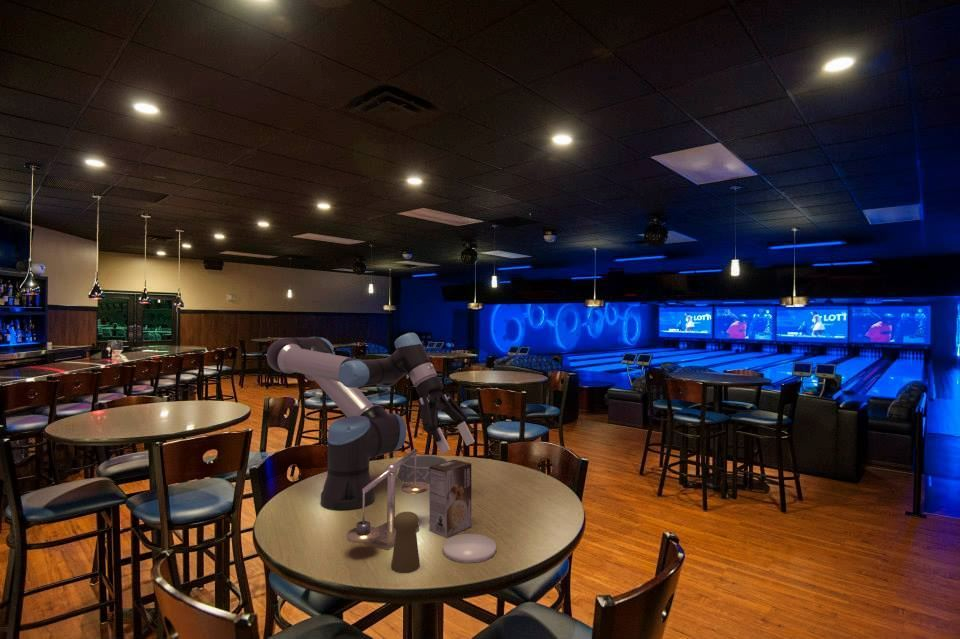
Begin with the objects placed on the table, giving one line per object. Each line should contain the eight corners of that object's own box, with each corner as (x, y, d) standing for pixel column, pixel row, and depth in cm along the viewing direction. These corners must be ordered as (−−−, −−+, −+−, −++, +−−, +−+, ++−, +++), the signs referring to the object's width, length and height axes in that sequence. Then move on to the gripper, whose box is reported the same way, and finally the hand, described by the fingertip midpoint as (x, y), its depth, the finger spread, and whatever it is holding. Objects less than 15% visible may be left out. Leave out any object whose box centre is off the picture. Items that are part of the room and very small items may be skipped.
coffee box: (453, 520, 129) (454, 458, 129) (472, 526, 125) (472, 463, 125) (428, 531, 122) (428, 465, 122) (446, 538, 118) (447, 470, 118)
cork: (398, 557, 108) (399, 507, 108) (424, 561, 106) (425, 510, 106) (385, 570, 102) (386, 517, 102) (412, 575, 100) (413, 520, 100)
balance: (338, 554, 109) (339, 468, 109) (410, 515, 132) (411, 443, 132) (366, 563, 105) (367, 473, 105) (435, 521, 128) (436, 447, 129)
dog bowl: (460, 474, 171) (460, 458, 171) (427, 488, 155) (427, 471, 155) (421, 466, 180) (421, 451, 180) (386, 479, 164) (387, 462, 164)
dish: (432, 554, 109) (432, 549, 109) (460, 535, 120) (460, 530, 120) (479, 567, 104) (479, 562, 104) (504, 545, 114) (504, 540, 114)
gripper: (410, 376, 133) (444, 449, 126) (457, 373, 155) (489, 434, 148) (391, 390, 135) (424, 462, 129) (440, 385, 157) (470, 446, 151)
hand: (458, 447), depth 138 cm, fingers open, 13 cm apart
